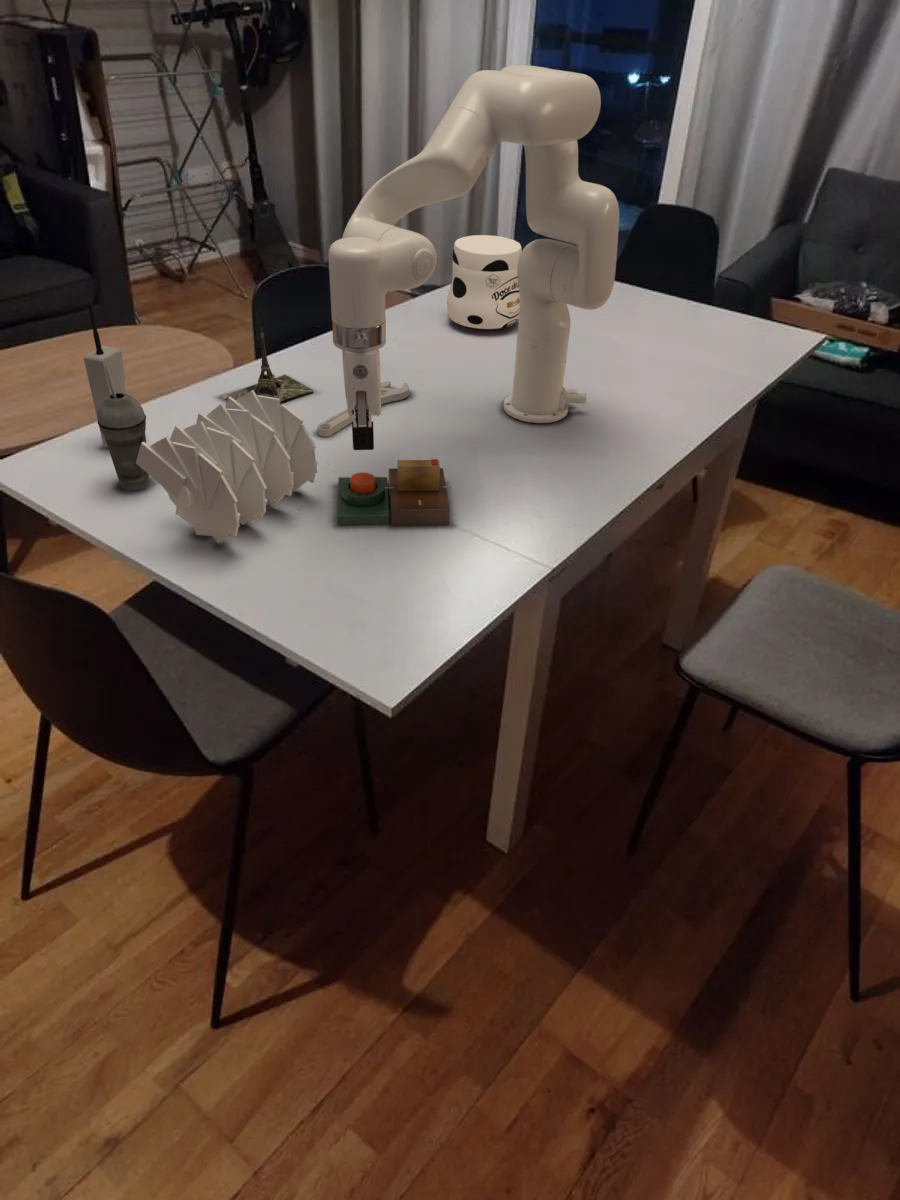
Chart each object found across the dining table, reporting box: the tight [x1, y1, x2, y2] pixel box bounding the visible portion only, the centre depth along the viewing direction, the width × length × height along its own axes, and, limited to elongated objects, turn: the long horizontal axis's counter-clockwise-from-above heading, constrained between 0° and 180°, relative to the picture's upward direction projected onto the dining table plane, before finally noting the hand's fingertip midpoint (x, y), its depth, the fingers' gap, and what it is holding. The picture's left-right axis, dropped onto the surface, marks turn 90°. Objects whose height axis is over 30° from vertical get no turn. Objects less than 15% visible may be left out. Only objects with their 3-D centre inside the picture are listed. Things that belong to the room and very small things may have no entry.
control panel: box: [385, 467, 453, 527], centre depth 142 cm, size 13×11×3 cm
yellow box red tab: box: [397, 458, 441, 491], centre depth 139 cm, size 6×2×5 cm, turn 95°
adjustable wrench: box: [317, 380, 410, 438], centre depth 168 cm, size 25×6×2 cm, turn 142°
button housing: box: [336, 476, 390, 526], centre depth 141 cm, size 12×8×4 cm, turn 5°
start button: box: [349, 472, 376, 494], centre depth 140 cm, size 4×4×2 cm
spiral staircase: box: [136, 390, 319, 544], centre depth 134 cm, size 18×18×25 cm
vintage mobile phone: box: [83, 302, 127, 449], centre depth 147 cm, size 4×5×25 cm
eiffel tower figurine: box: [221, 326, 315, 402], centre depth 169 cm, size 15×10×13 cm
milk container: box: [446, 234, 523, 332], centre depth 202 cm, size 17×17×18 cm
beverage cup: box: [97, 365, 150, 492], centre depth 138 cm, size 7×7×20 cm
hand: (363, 447), depth 136 cm, fingers closed
